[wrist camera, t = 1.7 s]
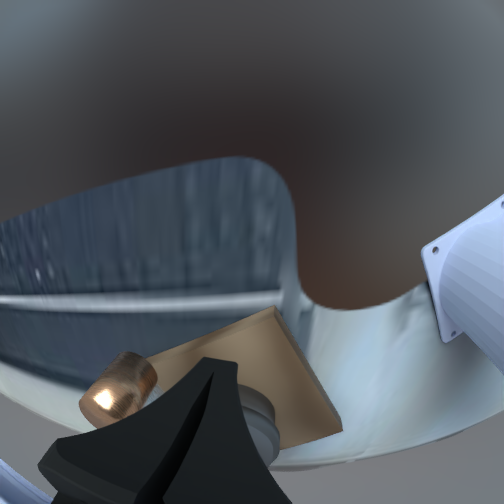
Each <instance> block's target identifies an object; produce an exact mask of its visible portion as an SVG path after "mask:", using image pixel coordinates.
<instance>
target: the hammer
mask: <svg viewBox="0 0 504 504" xmlns="http://www.w3.org/2000/svg"><path fill="white" fill-rule="evenodd" d="M157 381H158V376H157V373H156V371H155V369H154V367H153V366H152V365H151V364H150V363H149V362H148V361H147V360H146V359H145V358H143V357H142V356H140V355H138V354H136V353H133V352H121V353H119V354H118V355H117V356H116V358H115V359H114V360H113V361H112V362H111V363H110V365H109V366H108V367H107V368H106V369H105V371H104V372H103V373H102V374H101V375H100V376H99V378H98V379H97V380H96V381H95V382H94V384H93V385H92V386H91V387H90V388H89V390H88V391H87V392H86V393H85V394H84V396H83V397H82V398H81V399H80V401H79V407H80V410H81V412H82V414H83V415H84V416H85V418H86V419H87V420H88V421H89V422H90V423H91V424H92V425H93V426H94V427H96V428H97V429H99V428H102V427H105V426H107V425H110V424H113V423H115V422H117V421H119V420H122V419H124V418H126V417H127V416H129V415H131V414H133V413H135V412H137V411H139V410H140V409H142V408H144V407H145V406H147V405H148V404H150V403H151V402H153V401H154V400H156V399H157V398H158V397H160V396H161V395H162V394H164V393H165V392H164V391H163V390H162V388H161V387H160V386H159V385H158V384H157Z"/></svg>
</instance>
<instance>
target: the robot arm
mask: <svg viewBox="0 0 504 504" xmlns="http://www.w3.org/2000/svg"><path fill="white" fill-rule="evenodd" d="M501 203H502V207H501ZM434 247H436V251H435V252H434V253H432V250H433V248H434ZM421 258H422V261H423V265H424V268H425V272H426V275H427V279H428V282H429V286H430V290H431V294H432V298H433V302H434V306H435V311H436V315H437V320H438V325H439V330H440V336H441V340H442V341H443V342H444V343H447V342H449V341H451V340H452V339H454V338H455V337H457V336H458V335H460V334H461V333H463V332H465V333H466V334H467V335H468V336H469V337H470V338H471V339H472V340H473V342H474V343H475V344H476V345H477V346H478V347H479V348H480V349H481V350H482V351H483V352H484V353H485V354H486V355H487V357H488V358H489V359H490V360H491V361H492V362H493V363H494V364H495V365H496V367H497V368H498V369H499V370H500V371H501V372H502V374H503V375H504V194H503V195H502V196H501V197H499V198H498V199H497V200H495V201H494V202H492V203H491V204H489V205H488V206H486V207H485V208H484V209H483V210H481V211H479V212H478V213H477V214H475V215H473V216H472V217H470V218H469V219H467V220H466V221H464V222H463V223H461V224H460V225H458V226H457V227H455V228H453V229H452V230H450V231H449V232H447V233H445V234H444V235H442V236H441V237H439V238H437V239H436V240H434V241H432V242H431V243H429V244H427V245H426V246H424V247H423V248H422V250H421ZM453 331H454V332H453ZM452 332H453V333H452ZM451 333H452V334H451ZM237 373H238V364H237V363H236V362H233V361H227V360H221V359H215V358H209V357H203V358H201V359H200V361H199V362H198V363H197V364H196V365H195V366H194V367H193V368H192V369H191V370H190V371H189V372H188V373H187V374H186V375H185V376H184V377H183V378H182V379H180V380H179V381H178V382H177V383H176V384H175V385H174V386H173V387H171V388H170V389H169V390H168V391H166V392H165V393H164V394H162V395H161V396H160V397H158V398H157V399H156V400H154V401H153V402H151V403H150V404H148V405H147V406H145V407H144V408H142V409H140V410H139V411H137V412H135V413H133V414H131V415H129V416H127V417H126V418H124V419H122V420H119V421H117V422H115V423H113V424H110V425H107V426H105V427H102V428H99V429H96V430H93V431H90V432H87V433H83V434H79V435H74V436H70V437H65V438H58V439H57V440H56V441H55V442H54V443H53V444H52V445H51V447H50V448H49V449H48V451H47V452H46V453H45V455H44V456H43V458H42V459H41V460H40V462H39V463H38V468H39V471H40V472H41V473H42V475H43V476H44V477H45V478H46V479H47V480H48V481H49V482H50V484H51V485H52V486H53V487H54V488H55V489H56V490H57V491H58V493H57V494H56V496H55V497H54V499H53V498H52V497H50V496H49V495H47V494H45V493H44V492H43V491H41V490H40V489H38V488H37V487H36V486H34V485H33V484H31V483H30V482H29V481H27V480H26V479H25V478H23V477H22V476H21V475H20V474H18V473H17V472H16V471H14V470H13V469H12V468H11V467H10V466H9V465H7V464H6V463H5V462H4V461H3V460H2V459H1V458H0V504H292V502H291V501H290V500H289V499H288V497H287V496H286V495H285V494H284V493H283V491H282V490H281V488H280V487H279V485H278V484H277V483H276V481H275V480H274V478H273V477H272V475H271V474H270V472H269V470H268V469H267V467H266V465H265V463H264V461H263V460H262V458H261V456H260V454H259V452H258V450H257V448H256V446H255V444H254V442H253V439H252V437H251V434H250V432H249V429H248V426H247V423H246V420H245V417H244V414H243V410H242V406H241V402H240V397H239V391H238V383H237Z"/></svg>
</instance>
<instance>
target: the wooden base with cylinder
mask: <svg viewBox="0 0 504 504" xmlns="http://www.w3.org/2000/svg"><path fill="white" fill-rule="evenodd" d="M203 357H209V358H215V359H221V360H227V361H233V362H236V363H237V364H238V373H237V383H238V391H239V397H240V402H241V406H242V410H243V414H244V417H245V420H246V423H247V426H248V429H249V432H250V434H251V437H252V439H253V442H254V444H255V446H256V448H257V450H258V452H259V454H260V456H261V458H262V460H263V461H264V463H265V465H266V467H267V468H268V467H269V466H270V464H271V463H272V462H273V461H274V460H275V459H276V458H277V456H278V454H279V450H282V449H286V448H290V447H294V446H297V445H301V444H304V443H308V442H311V441H314V440H318V439H321V438H324V437H327V436H330V435H333V434H336V433H339V432H341V431H343V428H342V423H341V418H340V416H339V414H338V413H337V411H336V409H335V408H334V406H333V404H332V402H331V401H330V399H329V397H328V396H327V394H326V392H325V391H324V389H323V387H322V385H321V384H320V382H319V380H318V379H317V377H316V375H315V373H314V372H313V370H312V368H311V367H310V365H309V363H308V362H307V360H306V358H305V356H304V355H303V353H302V351H301V349H300V348H299V346H298V344H297V343H296V341H295V339H294V337H293V336H292V334H291V332H290V331H289V329H288V327H287V325H286V324H285V322H284V320H283V318H282V317H281V315H280V313H279V312H278V310H277V308H276V306H275V305H273V306H271V307H269V308H267V309H265V310H262V311H260V312H258V313H256V314H254V315H251V316H249V317H247V318H244V319H242V320H240V321H238V322H235V323H233V324H231V325H228V326H226V327H224V328H221V329H219V330H217V331H214V332H212V333H209V334H207V335H204V336H202V337H200V338H197V339H195V340H192V341H190V342H187V343H185V344H182V345H180V346H177V347H174V348H172V349H169V350H167V351H164V352H161V353H159V354H156V355H154V356H151V357H148V358H145V359H146V360H147V361H148V362H149V363H150V364H151V365H152V366H153V367H154V369H155V371H156V373H157V376H158V381H157V384H158V385H159V386H160V387H161V388H162V390H163V391H164V392H166V391H168V390H169V389H170V388H171V387H173V386H174V385H175V384H176V383H177V382H178V381H179V380H180V379H182V378H183V377H184V376H185V375H186V374H187V373H188V372H189V371H190V370H191V369H192V368H193V367H194V366H195V365H196V364H197V363H198V362H199V361H200V359H201V358H203Z"/></svg>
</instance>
